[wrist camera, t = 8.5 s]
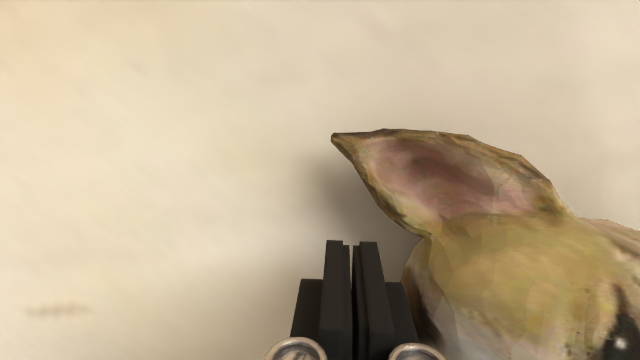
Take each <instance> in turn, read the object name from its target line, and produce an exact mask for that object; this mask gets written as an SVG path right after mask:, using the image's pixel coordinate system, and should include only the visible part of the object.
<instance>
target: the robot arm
mask: <svg viewBox="0 0 640 360" xmlns="http://www.w3.org/2000/svg"><path fill="white" fill-rule="evenodd" d="M351 359H352V360H447V359H446V358H445V357H444V356H443V355H442V354H441V353H440V352H438V351H437V350H435V349H433V348H431V347H429V346H427V345H423V344H420V343H419V340H418V336H417V332H416V329H415V325H414V322H413V318H412V315H411V311H410V308H409V304H408V301H407V297H406V294H405V290H404V287H403V284H402V283H391V282H385V281H384V276H383V271H382V267H381V262H380V257H379V252H378V247H377V242H363V241H360V243H359V246H353V261H352V284H351V277H350V254H349V245H343V241H336V240H327V242H326V253H325V265H324V276H323V280H321V279H301V282H300V287H299V292H298V298H297V303H296V308H295V313H294V319H293V324H292V329H291V334H290V338H287V339H284V340H282V341H280V342H278V343H277V344H276V345H274V346H273V347H272V348H271V349H270V351H269V352H268V354H267V355H266V358H265V360H351Z"/></svg>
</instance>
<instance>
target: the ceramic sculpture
mask: <svg viewBox="0 0 640 360" xmlns="http://www.w3.org/2000/svg"><path fill="white" fill-rule="evenodd" d="M331 142H332V143H333V145H334V146H335V147H336V148H337V149H338V150H339V151H340V152H341V153H342V154H343V155H344V156H345V157H346V158H347V159H348V160H350V161H351V162H352V164H353V165H354V167H355V169H356V170H357V172H358V174H359V175H360V177H361V179H362V180H363V182H364V184H365V185H366V187H367V189H368V190H369V192H370V193H371V195H372V197H373V198H374V200H375V201H376V203H377V205H378V206H379V207H380V208H381V209H382V210H383V211H384V212H385V213H386V214H387V215H388V216H389V217H390V218H391V219H393V220H394V221H395V222H396V223H397V224H399V225H400V226H401V227H403V228H404V229H406V230H407V231H409V232H411V233H413V234H416V235H419V236H422V237H423V238H422V239H421V240H420V241H419V242H418V243H417V244H416V246H415V248H414V250H413V251H412V253H411V255H410V257H409V259H408V261H407V263H406V264H405V267H404V270H403V274H402V277H401V281H400V283H402V284H403V287H404V290H405V294H406V297H407V301H408V304H409V308H410V311H411V315H412V318H413V322H414V325H415V329H416V332H417V336H418V340H419V343H420V344H423V345H427V346H429V347H431V348H433V349H435V350H437V351H438V352H440V353H441V354H442V355H443V356H444V357H445V358H446V359H447V360H640V231H636V230H633V229H629V228H626V227H624V226H621V225H619V224H616V223H614V222H611V221H609V220H596V219H585V218H581V217H576V216H575V215H574V214H573V213H572V212H571V211H570V210H569V209H568V208H567V207H566V206H565V205H564V203H563V202H562V201H561V200H560V198H559V196H558V194H557V193H556V191H555V189H554V187H553V185H552V184H551V182H550V180H549V179H547V178H546V177H545V176H544V175H543V174H542V173H541V172H539V171H538V170H537V169H536V168H535V167H534V166H533V165H532V164H530V163H529V162H528V161H527V160H526V159H525V158H524V157H523V156H521V155H519V154H515V153H511V152H508V151H504V150H501V149H498V148H495V147H492V146H490V145H487V144H484V143H481V142H480V141H478V140H476V139H474V138H472V137H471V136H469V135H461V134H452V133H444V132H436V131H418V130H407V129H380V130H376V131H372V132H357V133H333V134H332V135H331ZM351 360H352V359H351Z"/></svg>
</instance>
